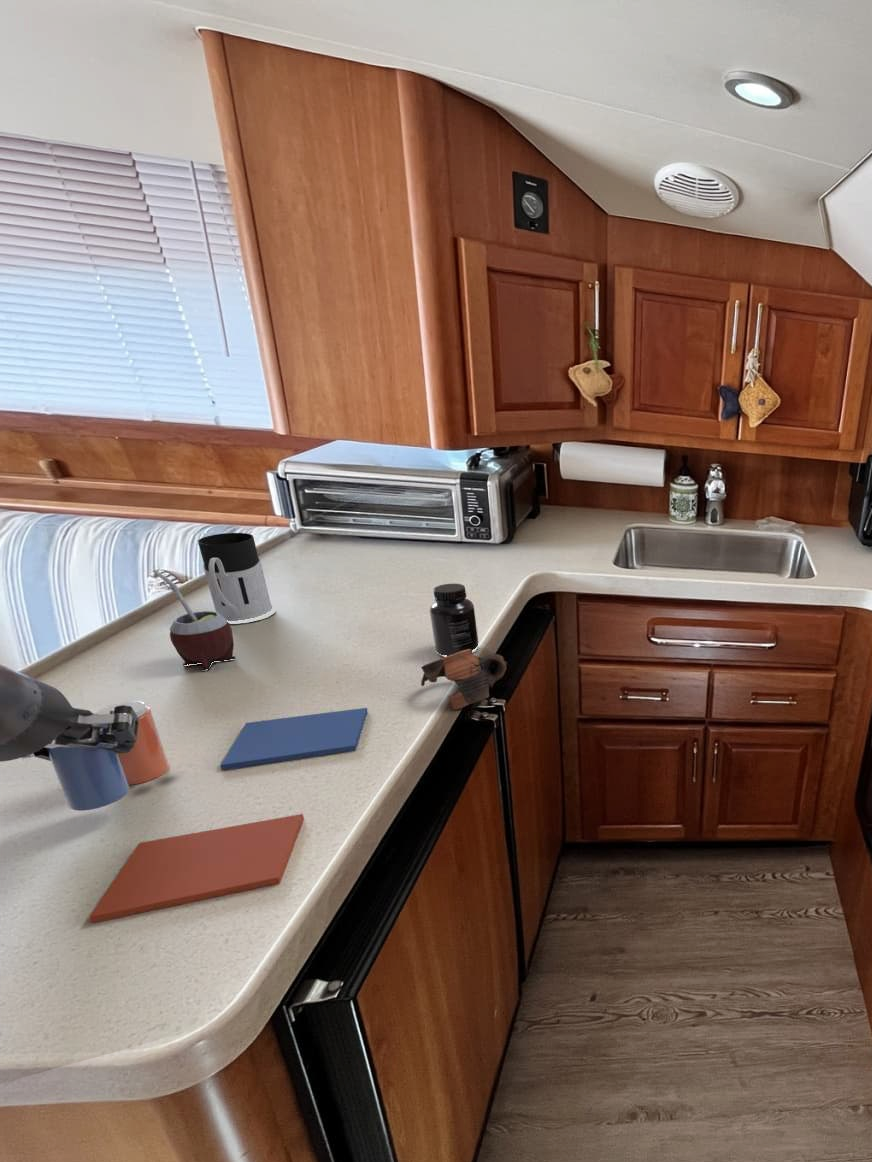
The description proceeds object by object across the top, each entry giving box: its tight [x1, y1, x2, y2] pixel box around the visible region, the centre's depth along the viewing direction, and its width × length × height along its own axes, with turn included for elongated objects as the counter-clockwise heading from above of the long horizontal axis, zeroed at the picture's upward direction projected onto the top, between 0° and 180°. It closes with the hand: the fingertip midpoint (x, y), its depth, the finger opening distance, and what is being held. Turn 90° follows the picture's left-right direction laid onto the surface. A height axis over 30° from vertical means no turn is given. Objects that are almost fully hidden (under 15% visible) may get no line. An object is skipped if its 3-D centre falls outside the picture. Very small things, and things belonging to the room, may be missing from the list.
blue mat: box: [220, 707, 369, 771], centre depth 86 cm, size 14×10×1 cm
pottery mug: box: [420, 649, 508, 711], centre depth 99 cm, size 12×10×8 cm
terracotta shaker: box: [96, 700, 170, 786], centre depth 75 cm, size 5×5×9 cm
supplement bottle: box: [429, 583, 479, 656], centre depth 110 cm, size 7×7×12 cm
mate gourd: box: [152, 569, 236, 670], centre depth 99 cm, size 8×8×15 cm
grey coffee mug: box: [197, 532, 273, 621], centre depth 113 cm, size 9×14×15 cm, turn 25°
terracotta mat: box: [89, 813, 305, 924], centre depth 65 cm, size 14×10×1 cm
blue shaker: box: [46, 728, 131, 812], centre depth 68 cm, size 5×5×9 cm
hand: (94, 747), depth 69 cm, fingers closed on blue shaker, 4 cm apart
